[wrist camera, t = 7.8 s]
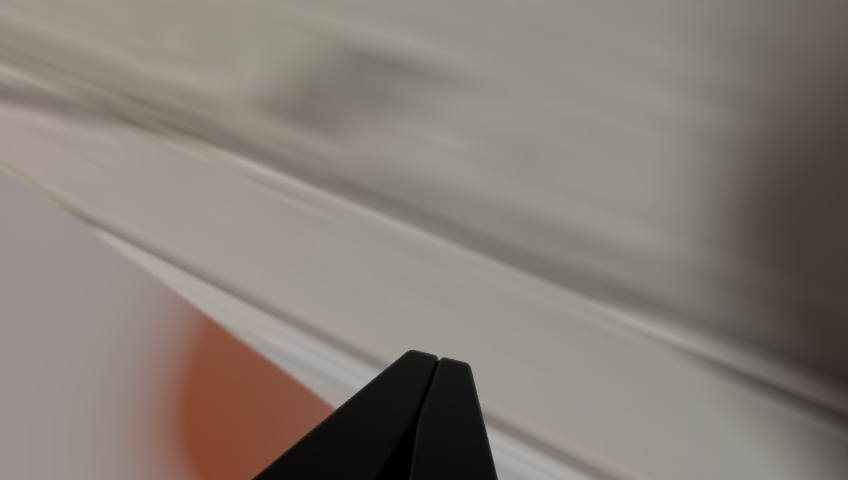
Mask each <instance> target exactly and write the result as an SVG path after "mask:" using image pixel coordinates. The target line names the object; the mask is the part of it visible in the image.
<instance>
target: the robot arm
mask: <svg viewBox="0 0 848 480" xmlns="http://www.w3.org/2000/svg"><path fill="white" fill-rule="evenodd" d="M252 480H498V478H497V474H496V469H495V465H494V461H493V457H492V453H491V449H490V445H489V440H488V436H487V432H486V428H485V424H484V420H483V416H482V411H481V407H480V403H479V399H478V395H477V391H476V387H475V382H474V378H473V374H472V370H471V367H470V365H469V364H468V363H466V362H462V361H458V360H454V359H450V358H445V357H443V358H441V359H440V360H438V357H437V356H436V355H433V354H429V353H425V352H421V351H417V350H409V351H407V352H406V353H405V354H404V355H402V356H401V357H400V358H399V359H398V360H396V361H395V362H394V363H393V364H391V365H390V366H389V367H388V368H387V369H385V370H384V371H383V372H382V373H380V374H379V375H378V376H377V377H376V378H374V379H373V380H372V381H371V382H370V383H368V384H367V385H366V386H365V387H363V388H362V389H361V390H360V391H359V392H357V393H356V394H355V395H354V396H352V397H351V398H350V399H349V400H348V401H346V402H345V403H344V404H343V405H341V406H340V407H339V408H338V409H337V410H335V411H334V412H333V413H332V414H331V415H329V416H328V417H327V418H326V419H324V420H323V421H322V422H321V423H320V424H318V425H317V426H316V427H315V428H313V429H312V430H311V431H310V432H309V433H307V434H306V435H305V436H304V437H303V438H301V439H300V440H299V441H298V442H296V443H295V444H294V445H293V446H292V447H290V448H289V449H288V450H287V451H285V452H284V453H283V454H282V455H281V456H280V457H278V458H277V459H276V460H274V461H273V462H272V463H271V464H270V465H268V466H267V467H266V468H265V469H263V471H261V472H260V473H259V474H257V475H256V476H255V477H254V478H253V479H252Z"/></svg>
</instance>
